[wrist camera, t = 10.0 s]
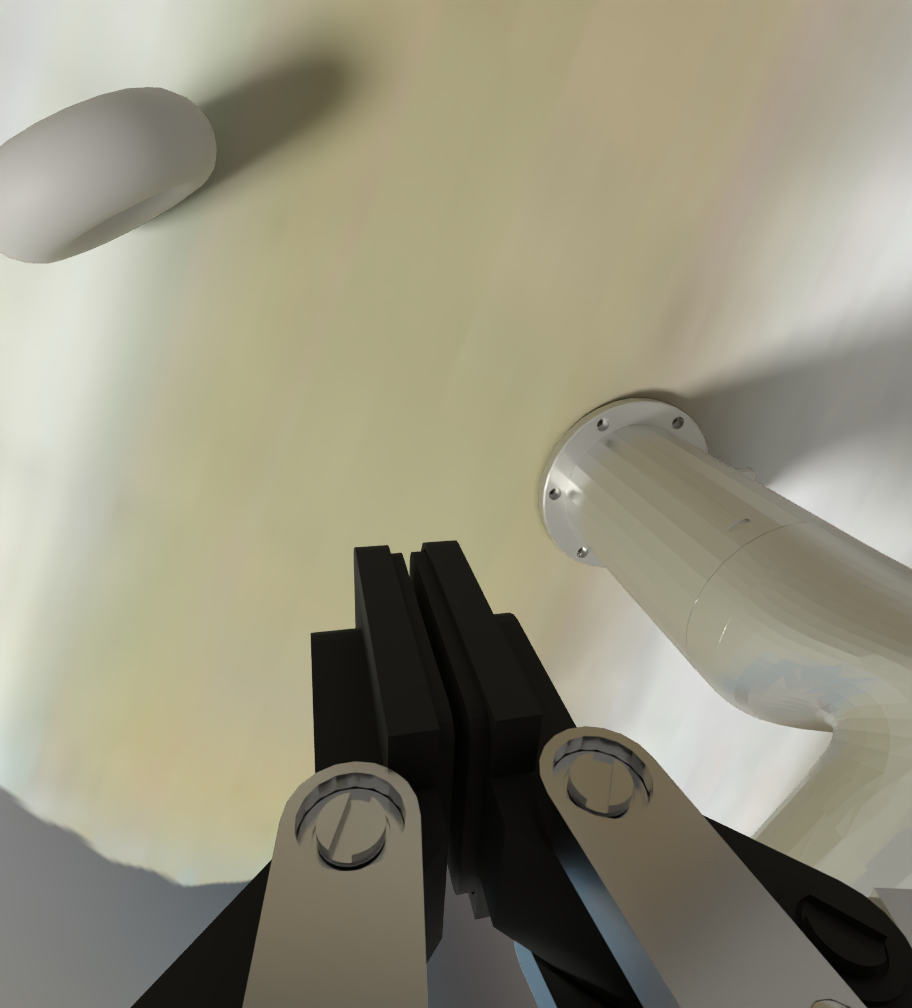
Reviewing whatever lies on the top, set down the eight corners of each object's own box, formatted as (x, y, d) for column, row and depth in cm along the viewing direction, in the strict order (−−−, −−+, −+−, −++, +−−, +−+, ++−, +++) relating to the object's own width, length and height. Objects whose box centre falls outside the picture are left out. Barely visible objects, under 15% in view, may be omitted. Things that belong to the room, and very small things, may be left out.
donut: (199, 95, 28) (154, 39, 19) (243, 172, 30) (221, 153, 21) (12, 200, 28) (-118, 192, 19) (67, 270, 30) (-30, 292, 21)
